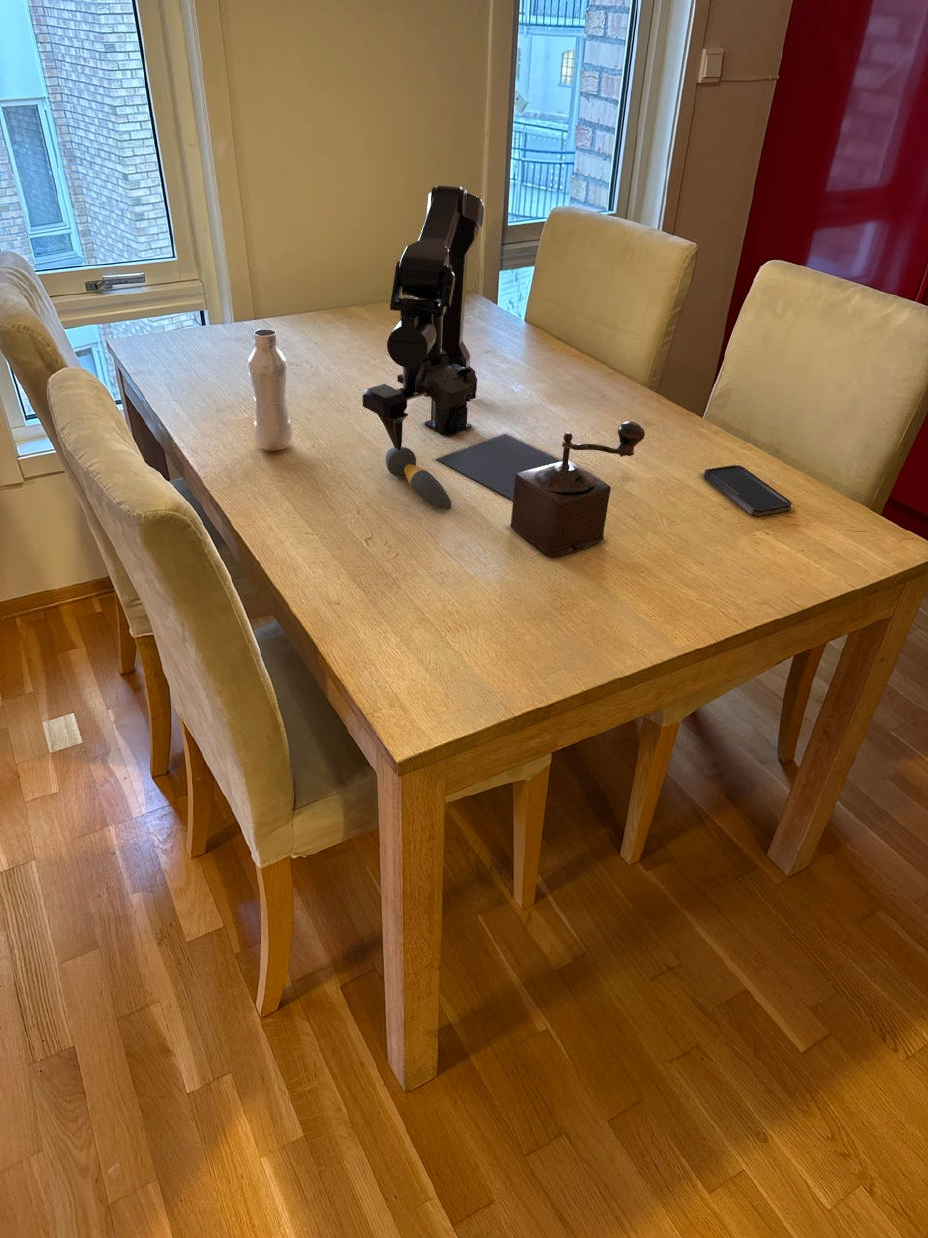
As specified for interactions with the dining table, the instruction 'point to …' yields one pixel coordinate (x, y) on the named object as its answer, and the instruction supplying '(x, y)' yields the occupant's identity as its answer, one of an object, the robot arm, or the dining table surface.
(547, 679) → the dining table surface
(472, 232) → the robot arm
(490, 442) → the mat
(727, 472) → the phone
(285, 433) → the plastic bottle
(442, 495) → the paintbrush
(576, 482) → the manual coffee grinder
